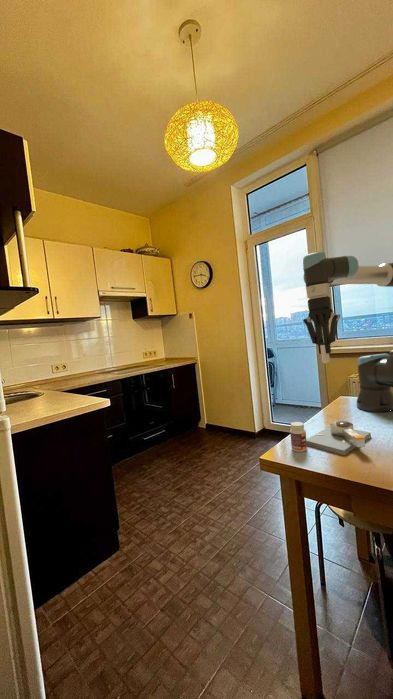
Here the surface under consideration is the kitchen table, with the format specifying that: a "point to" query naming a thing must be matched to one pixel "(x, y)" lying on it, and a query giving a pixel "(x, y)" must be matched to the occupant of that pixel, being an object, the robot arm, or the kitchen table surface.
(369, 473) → the kitchen table surface
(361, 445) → the silver ladle
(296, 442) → the pill bottle
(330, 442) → the stand board
